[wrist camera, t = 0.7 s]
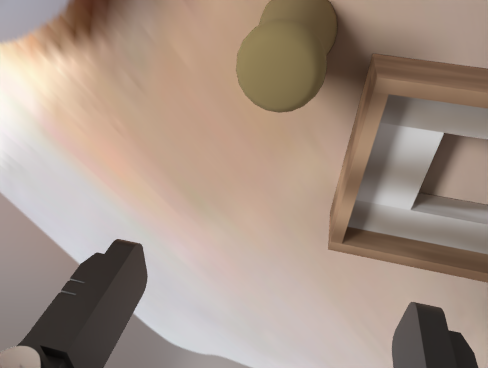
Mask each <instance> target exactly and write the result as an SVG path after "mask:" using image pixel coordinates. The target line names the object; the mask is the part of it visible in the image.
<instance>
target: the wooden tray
mask: <svg viewBox="0 0 488 368" xmlns="http://www.w3.org/2000/svg"><path fill="white" fill-rule="evenodd" d="M444 133H449V134H455V135H462V136H468V137H474V138H481V139H487V140H488V69H485V68H478V67H470V66H463V65H455V64H447V63H440V62H432V61H425V60H417V59H409V58H402V57H394V56H387V55H379V54H373V55H372V58H371V62H370V66H369V69H368V73H367V77H366V81H365V84H364V88H363V92H362V95H361V99H360V103H359V107H358V110H357V114H356V118H355V121H354V125H353V129H352V133H351V136H350V140H349V144H348V147H347V151H346V155H345V159H344V162H343V166H342V170H341V173H340V177H339V181H338V185H337V188H336V192H335V196H334V200H333V203H332V207H331V211H330V225H329V243H328V250H333V251H338V252H343V253H348V254H353V255H357V256H362V257H367V258H372V259H377V260H382V261H386V262H391V263H396V264H401V265H406V266H410V267H415V268H420V269H425V270H430V271H435V272H439V273H444V274H449V275H454V276H459V277H464V278H468V279H473V280H478V281H483V282H488V205H485V204H479V203H474V202H468V201H462V200H457V199H451V198H446V197H440V196H435V195H429V194H424V193H418V192H419V189H420V187H421V185H422V183H423V180H424V178H425V176H426V173H427V171H428V169H429V167H430V164H431V162H432V160H433V157H434V155H435V153H436V150H437V148H438V146H439V144H440V141H441V139H442V137H443V134H444Z"/></svg>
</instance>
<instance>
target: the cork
mask: <svg viewBox="0 0 488 368" xmlns="http://www.w3.org/2000/svg"><path fill="white" fill-rule="evenodd" d="M336 34H337V17H336V14H335V12H334V9H333V7H332V5H331V3H330V2H329V1H328V0H271V1H270V2H269V3H268V4H267V5H266V7H265V9H264V12H263V14H262V16H261V19H260V23H259V25H258V26H257V27H255V28H254V29H253V30H252V31H251V32H250V33H249V35H248V36H247V37H246V38H245V39H244V40H243V42H242V44H241V47H240V49H239V51H238V54H237V65H236V72H237V77H238V81H239V85H240V86H241V88H242V90H243V92H244V93H245V95H246V96H247V97H248V98H249V99H250V100H251V101H252V102H253V103H254V104H255V105H257V106H259V107H261V108H263V109H265V110H268V111H273V112H289V111H293V110H295V109H298V108H300V107H302V106H304V105H305V104H306V103H308V102H309V101H310V100H311V99H312V98H313V97H315V96H316V94H317V93H318V91H319V89H320V88H321V86H322V84H323V82H324V78H325V74H326V69H327V63H326V56H327V54H328V53H329V51H330V49H331V48H332V46H333V44H334V42H335V38H336Z"/></svg>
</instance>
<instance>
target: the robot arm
mask: <svg viewBox="0 0 488 368" xmlns="http://www.w3.org/2000/svg"><path fill="white" fill-rule="evenodd" d="M146 284H147V269H146V264H145V258H144V252H143V247H142V245H141V244H140V243H135V242H130V241H125V240H121V239H117V240H115V241H114V242H113V243H112V244H111V245H110V247H109V248H108V250H107V251H106V252H105V254H102V253H95V254H94V255H92V256H91V257H90V258H88V259H87V260H86V261H84V262H83V263H81V264H80V266H79V267H78V269H77V270H76V271H75V272H74V274H73V275H72V276H71V278H70V281H68V282H67V283H66V284H65V286H64V287H63V288H62V290H61V293H59V294H58V295H57V296H56V297H55V299H54V300H53V301H52V303H51V304H50V305H49V307H48V308H47V309H46V311H45V312H44V313H43V315H42V316H41V317H40V319H39V320H38V321H37V322H36V324H35V325H34V327H33V328H32V329H31V331H30V332H29V333H28V334H27V336H26V337H25V338H24V339H23V341H21V342H20V343H19V344H18V345H17V346H16V347H12V348H8V349H6V350H4V351H2V352H0V368H103V367H104V365H105V364H106V362H107V360H108V358H109V356H110V354H111V353H112V351H113V349H114V347H115V345H116V343H117V341H118V340H119V338H120V336H121V334H122V332H123V330H124V328H125V327H126V325H127V323H128V321H129V319H130V317H131V315H132V314H133V312H134V310H135V308H136V306H137V304H138V302H139V301H140V299H141V297H142V295H143V293H144V291H145V288H146ZM392 357H393V367H394V368H478V365H477V362H476V358H475V355H474V352H473V351H472V349H471V348H470V346H469V345H468V343H467V342H466V340H465V339H464V337H463V336H462V334H461V333H458V332H454V331H449V330H448V327H447V323H446V318H445V314H444V312H443V310H442V309H441V308H439V307H434V306H430V305H425V304H420V303H415V302H411V303H410V304H409V305H408V307H407V309H406V311H405V313H404V315H403V317H402V319H401V321H400V323H399V324H398V326H397V328H396V330H395V333H394V336H393V342H392Z"/></svg>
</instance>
